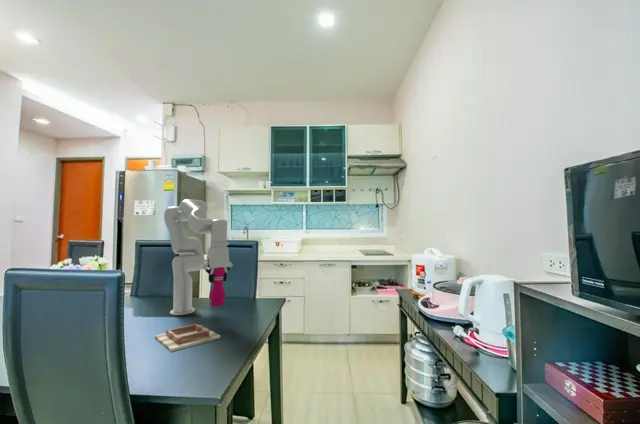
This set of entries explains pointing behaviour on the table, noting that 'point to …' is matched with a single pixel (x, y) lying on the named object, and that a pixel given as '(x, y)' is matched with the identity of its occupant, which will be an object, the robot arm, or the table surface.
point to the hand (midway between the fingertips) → (217, 281)
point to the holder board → (186, 337)
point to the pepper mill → (218, 288)
